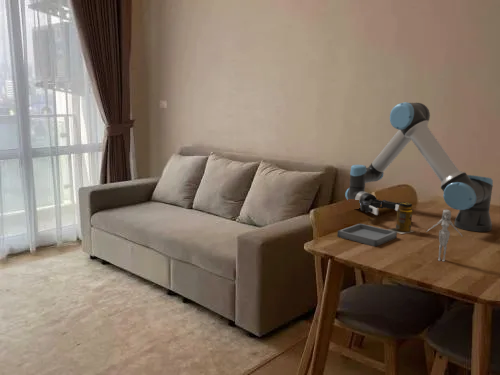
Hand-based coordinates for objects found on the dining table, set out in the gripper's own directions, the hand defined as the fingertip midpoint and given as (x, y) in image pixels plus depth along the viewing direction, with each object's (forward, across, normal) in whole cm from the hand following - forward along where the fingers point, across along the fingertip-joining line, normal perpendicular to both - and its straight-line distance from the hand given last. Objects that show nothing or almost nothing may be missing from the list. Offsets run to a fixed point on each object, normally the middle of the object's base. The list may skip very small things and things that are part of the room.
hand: (391, 211), depth 214 cm
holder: (+14, +20, -6) cm, 25 cm away
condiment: (+9, 0, -7) cm, 11 cm away
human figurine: (+44, +7, -7) cm, 45 cm away
